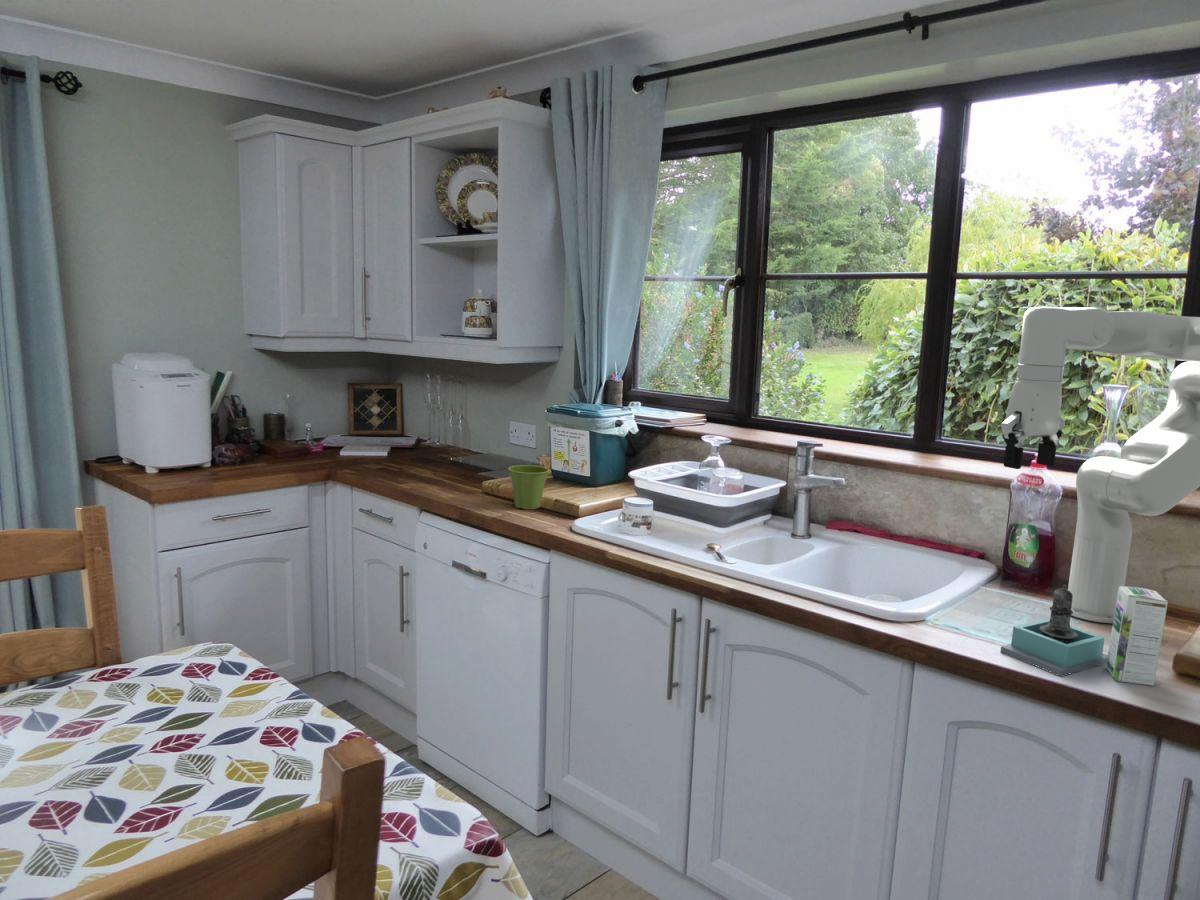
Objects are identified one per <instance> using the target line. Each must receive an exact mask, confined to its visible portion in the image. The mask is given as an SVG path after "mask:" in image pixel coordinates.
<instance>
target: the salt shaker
mask: <svg viewBox="0 0 1200 900" xmlns="http://www.w3.org/2000/svg"><path fill="white" fill-rule="evenodd" d="M1072 598H1073V594H1072V593H1071V592H1070V591H1069V590H1068V588H1067V585H1066V584H1062V587H1061V588H1058V589H1055V590H1054V593H1053V599H1052V606H1049V611H1050V617H1049V619H1050V621H1049V623H1048V625H1043V626H1040V628H1039V629H1040V631H1041V635H1044V636H1046V637H1049V638H1052V639H1054V640H1057V641H1060V642H1062V643H1065V644H1069V643H1073V642H1074V641H1075V638H1077V637H1078V634H1077V633H1076V632H1075V631H1073V630H1071V628H1070V626H1071V623H1070V622H1071V614H1073V611H1072V610H1071V606H1072Z"/></svg>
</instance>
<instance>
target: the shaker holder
mask: <svg viewBox="0 0 1200 900" xmlns="http://www.w3.org/2000/svg"><path fill="white" fill-rule="evenodd" d="M1049 621H1050V618H1046V619H1045V618H1044V619H1041V620H1036V621H1031V622H1026V623H1023V624H1019V625H1013V626H1012V627H1013V628H1012V635H1011V636H1012V637H1011V643H1010V644H1005V645H1002V646H1000V653H1003V654H1005V655H1007V656H1010V657H1013V658H1014V657H1015V659H1017V658H1018V659H1017V660H1019V659H1021V660H1020V661H1022V660H1023V661H1022V662H1024V661H1026V662H1025V663H1027V662H1029V663H1031V664H1030V665H1032V664H1034V665H1037V666H1039V667H1041V668H1044V669H1046V670H1048V671H1047V672H1049V671H1051V672H1053V673H1055V674H1054V675H1056V674H1058V675H1059V676H1058V675H1057V676H1058V677H1063V676H1062V675H1064V676H1067V675H1066V674H1068V675H1070V674H1069V673H1071V674H1075V673H1078V672H1080V671H1081V670H1082V671H1085V670H1088V669H1092V668H1096V667H1098V666H1103V665H1107V659H1108V654H1106V653H1103V652H1104V647H1105V639H1106V637H1104V636H1100V635H1097V634H1094V633H1092V632H1089V631H1086V630H1083V629H1081V628H1078V627H1074V626H1071V625H1070V628H1071V630H1073V631H1075V632H1076V633H1077V634H1078V637H1077V638H1075V641H1074V642H1073V643H1069V644H1065V643H1062V642H1060V641H1057V640H1054V639H1052V638H1049V637H1046V636H1044V635H1041V631H1040V629H1039V628H1040V626H1043V625H1048V623H1049ZM1029 663H1028V664H1029ZM1034 665H1033V666H1034ZM1039 667H1038V668H1039ZM1041 668H1040V669H1041ZM1044 669H1043V670H1044ZM1046 670H1045V671H1046ZM1077 671H1078V672H1077ZM1051 672H1050V673H1051ZM1074 672H1075V673H1074ZM1053 673H1052V674H1053Z"/></svg>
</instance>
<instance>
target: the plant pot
mask: <svg viewBox="0 0 1200 900" xmlns="http://www.w3.org/2000/svg"><path fill="white" fill-rule="evenodd" d="M507 470H508V471H509V473H510V478H511V482H512V490H513V492H512V493H513V499H514V500H513V501H514V507H515V508H516V509H523V510H526V511H527V510H536V509H539V508H541V504H540V498H541V497H542V498H543V494H544V489H545V484H546V480H547V478H548V473H549V472H550V470H551V469H549V468H548V467H544V466H540V465H531V464H530V465H528V464H527V465H526V464H525V465H523V464H522V465H512V466H509V467H508V469H507Z"/></svg>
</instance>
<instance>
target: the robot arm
mask: <svg viewBox="0 0 1200 900" xmlns="http://www.w3.org/2000/svg"><path fill="white" fill-rule="evenodd" d="M1067 349H1070V350H1078V351H1079V350H1080V351H1081V350H1082V351H1090V352H1098V353H1104V354H1109V355H1115V356H1128V357H1135V358H1136V357H1137V358H1148V359H1149V358H1150V359H1160V360H1170V361H1184V362H1181V363H1179V364H1178V365H1177V366H1176V367H1175V368H1174V370H1172V373H1171V375H1170V376H1169V381H1168V389H1167V391H1168V393H1167V401H1166V406H1165V408H1164V410H1163V411H1162V413H1160V414H1159V415H1158V416H1157V417H1155V418H1154V419H1153V420H1151V421H1150V422H1149V423H1147V424H1146V425H1145V426H1144V427H1141V429H1139V430H1138V431H1136V433H1134V434H1133V435H1132V436H1130V437H1129V438H1128V439H1127V440H1126V442H1125V443H1123V445H1122V447H1121V451H1120V457H1115V456H1108V455H1100V456H1095V457H1092V458H1089V459H1087V460H1085V462H1083V463H1082V464H1081V465H1080V467H1079V468H1078V471H1077V473H1076V477H1075V478H1076V480H1075V485H1076V486H1075V488H1076V496H1077V515H1076V526H1075V533H1074V539H1073V548H1072V556H1071V565H1070V572H1069V579H1068V584H1067V585H1068V586H1067V590H1069V591H1070V592H1071V593H1072V594H1073V598H1072V606H1071V610H1072V611H1073V614H1071V616H1072V617H1075V618H1078V619H1082V620H1086V621H1090V622H1095V623H1102V624H1113V620H1114V614H1115V609H1116V603H1117V596H1118V590H1119V587H1126V580H1127V579H1126V578H1127V572H1128V564H1129V557H1130V550H1131V545H1132V537H1133V526H1132V521H1131V518H1130V515H1129V513H1133V514H1136V515H1137V514H1138V515H1140V516H1141V515H1142V516H1146V517H1147V516H1148V517H1155V516H1160V515H1163V514H1165V513H1167V512H1168V511H1170V510H1171V509H1173V508H1174V507H1175V506H1176V505H1178V504H1179V503H1180V502H1182V501H1184V499H1186V498H1187V497H1188V496H1190V495H1191V494H1193V493H1194V492H1195V491H1196V490H1197V489H1198V488H1200V316H1185V315H1175V314H1163V313H1155V312H1150V311H1148V312H1147V311H1139V310H1138V311H1137V310H1136V311H1135V310H1132V311H1131V310H1127V311H1126V310H1122V311H1121V310H1120V311H1106V310H1104V309H1102V308H1098V307H1080V306H1079V307H1077V306H1076V307H1074V306H1073V307H1069V306H1067V307H1066V306H1065V307H1063V306H1062V307H1058V306H1057V307H1056V306H1033V307H1029V308H1028V309H1027V310H1026V311H1025V312H1024V315H1023V322H1022V328H1021V337H1020V348H1019V353H1018V354H1019V355H1018V365H1017V372H1016V381H1014V383H1013V386H1012V388H1011V392H1010V394H1009V395H1010V396H1009V399H1008V404H1007V410H1006V414H1005V415H1006V416H1005V419H1004V421H1003V422H1001V424H1000V429H1001V431H1002V439H1003V445H1004V446H1005V450H1004V459H1003V467H1005V468H1010V469H1015V470H1020V469H1021V468H1022V462H1023V453H1024V447H1022V445H1023V444H1024V442H1025V441H1026V439H1027V438H1034V437H1035V438H1036V437H1038V438H1039V439H1040V441H1041V442H1038V448H1037V456H1036V457H1037V458H1036V463H1037V465H1042V466H1047V467H1054V465H1055V460H1056V454H1057V453H1056V451H1057V446H1058V445H1059V442H1060V438H1061V437H1062V434H1063V430H1064V428H1065V426H1066V420H1065V419H1064V418H1062V417H1061V416H1062V400H1063V399H1062V394H1063V393H1062V392H1063V391H1062V385H1063V379H1064V372H1065V362H1066V354H1067ZM1017 437H1018V438H1017Z"/></svg>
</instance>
